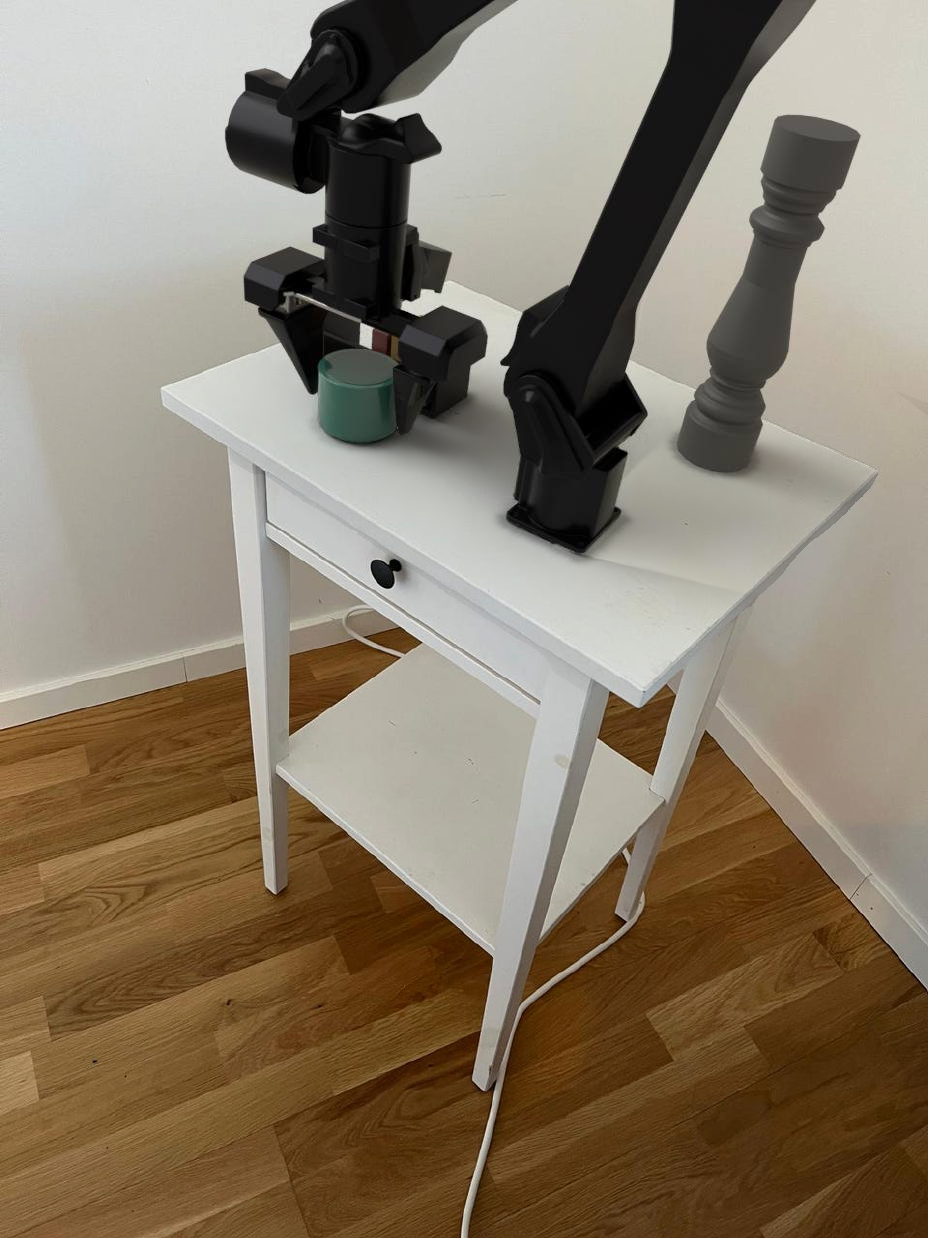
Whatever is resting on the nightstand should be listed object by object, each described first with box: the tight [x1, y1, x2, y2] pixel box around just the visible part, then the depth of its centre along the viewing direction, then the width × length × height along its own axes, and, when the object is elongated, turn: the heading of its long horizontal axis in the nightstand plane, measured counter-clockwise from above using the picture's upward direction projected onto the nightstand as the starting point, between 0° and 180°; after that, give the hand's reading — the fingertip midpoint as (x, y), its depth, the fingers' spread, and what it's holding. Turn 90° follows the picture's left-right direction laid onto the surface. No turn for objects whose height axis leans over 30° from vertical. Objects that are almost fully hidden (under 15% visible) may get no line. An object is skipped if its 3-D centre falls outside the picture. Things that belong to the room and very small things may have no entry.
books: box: [370, 314, 433, 406], centre depth 81 cm, size 6×4×5 cm
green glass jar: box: [317, 349, 398, 444], centre depth 77 cm, size 6×6×5 cm
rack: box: [323, 311, 472, 420], centre depth 82 cm, size 12×5×6 cm, turn 57°
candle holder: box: [676, 114, 862, 473], centre depth 73 cm, size 6×6×25 cm
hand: (358, 412), depth 78 cm, fingers open, 9 cm apart
